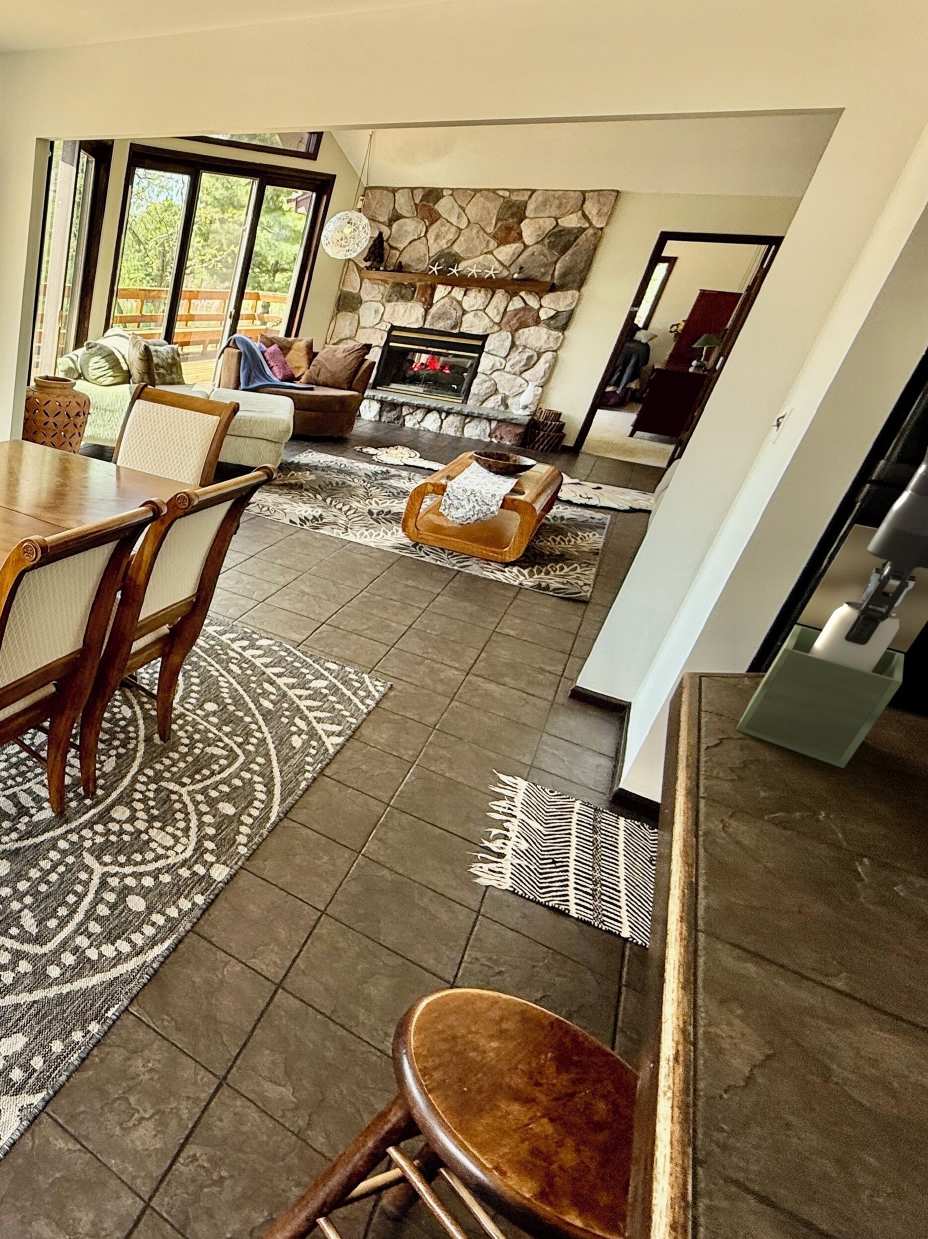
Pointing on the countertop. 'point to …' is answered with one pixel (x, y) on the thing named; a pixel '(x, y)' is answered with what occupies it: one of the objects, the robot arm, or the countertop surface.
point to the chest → (820, 700)
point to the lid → (850, 582)
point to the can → (850, 653)
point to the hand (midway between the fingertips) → (856, 636)
